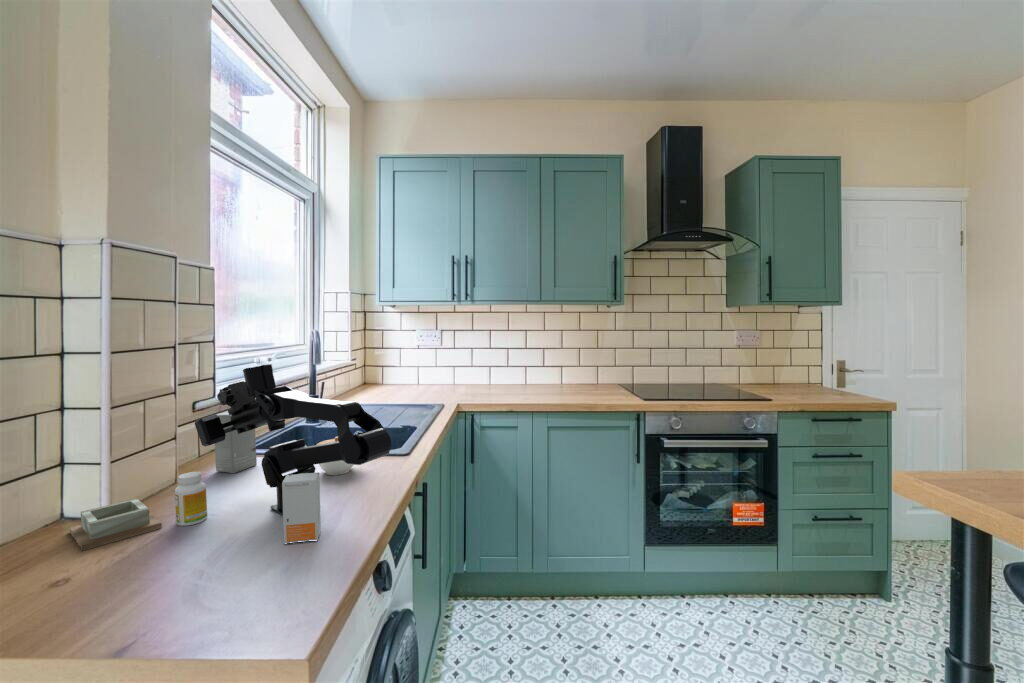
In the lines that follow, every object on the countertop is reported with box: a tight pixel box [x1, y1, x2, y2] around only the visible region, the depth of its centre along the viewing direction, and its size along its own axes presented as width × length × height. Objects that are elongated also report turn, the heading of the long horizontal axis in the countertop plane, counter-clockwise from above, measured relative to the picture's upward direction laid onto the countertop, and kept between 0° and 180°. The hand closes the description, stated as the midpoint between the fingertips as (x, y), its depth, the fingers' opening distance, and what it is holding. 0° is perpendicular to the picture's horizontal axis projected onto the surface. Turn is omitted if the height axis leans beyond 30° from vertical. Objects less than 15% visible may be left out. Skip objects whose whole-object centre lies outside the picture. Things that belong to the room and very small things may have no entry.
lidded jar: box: [316, 436, 355, 476], centre depth 130 cm, size 11×11×9 cm
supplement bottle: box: [174, 471, 208, 527], centre depth 99 cm, size 5×5×10 cm
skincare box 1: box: [214, 411, 258, 474], centre depth 134 cm, size 8×7×16 cm
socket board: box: [69, 498, 163, 551], centre depth 95 cm, size 12×12×4 cm
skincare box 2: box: [282, 472, 322, 544], centre depth 91 cm, size 6×4×12 cm
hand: (221, 426), depth 117 cm, fingers open, 9 cm apart
